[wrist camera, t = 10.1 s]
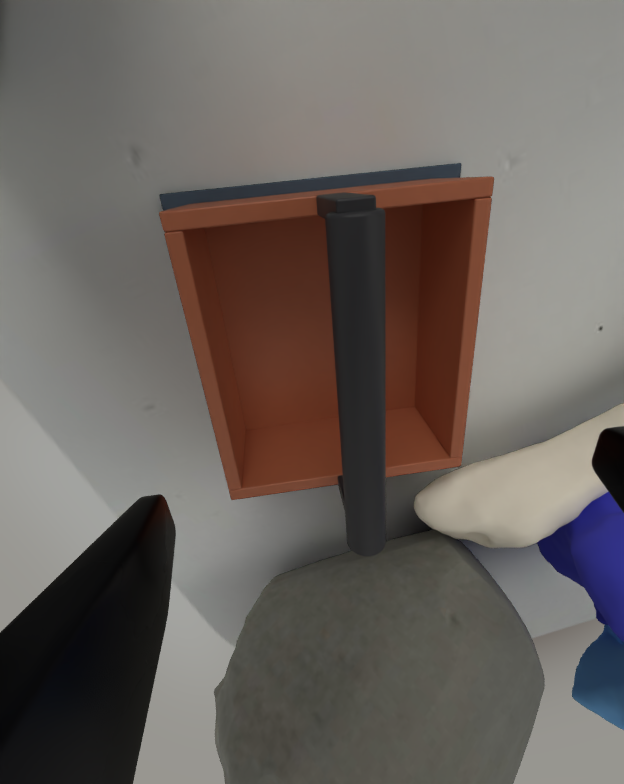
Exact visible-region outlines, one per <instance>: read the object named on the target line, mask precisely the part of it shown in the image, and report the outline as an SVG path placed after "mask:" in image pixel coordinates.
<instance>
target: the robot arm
mask: <svg viewBox="0 0 624 784" xmlns="http://www.w3.org/2000/svg"><path fill="white" fill-rule="evenodd" d="M592 467H593V470H594V472H595V473H596V475H597V476H598V478H599V479H600V480H601V482H602V483H603V485H604V486H605V487H606V489H607V490H608V492H609V493H610V494H611V496H612V497H613V499H614V500H615V502H616V503H617V504H618V506H619V507H620V509H621V510H622V511H623V513H624V426H619V427H612V428H606V429H604V430H603V431H602V432H601V433H600V435H599V438H598V441H597V444H596V447H595V451H594V454H593V457H592ZM175 537H176V531H175V524H174V521H173V519H172V516H171V513H170V510H169V507H168V505H167V502H166V499H165V498H164V496H162V495H160V494H158V495H151V496H145V497H141V498H139V499H138V500H137V501H136V502H135V503H134V504H133V505H132V506H131V507H130V508H129V509H128V510H127V511H126V512H125V513H123V514H122V515H121V516H120V517H119V518H118V519H117V520H116V521H115V522H114V523H113V524H112V525H111V526H110V527H109V528H108V529H107V530H106V531H105V532H104V533H103V534H102V535H101V536H100V537H99V538H98V539H97V540H96V541H95V542H94V543H92V544H91V545H90V546H89V547H88V548H87V549H86V550H85V551H84V552H83V553H82V554H81V555H80V556H79V557H78V558H77V559H76V560H75V561H74V562H73V563H72V564H71V565H70V566H69V567H68V568H67V569H66V570H64V572H62V573H61V574H60V575H59V576H58V577H57V578H56V579H55V580H54V581H53V582H52V583H51V584H50V585H49V586H48V587H47V588H46V589H45V590H44V591H43V592H42V593H41V594H40V595H39V596H38V597H37V598H35V600H33V601H32V602H31V603H30V604H29V605H28V606H27V607H26V608H25V609H24V610H23V611H22V612H21V613H20V614H19V615H18V616H17V617H16V618H15V619H14V620H13V621H12V622H11V623H10V624H9V625H8V626H7V627H5V629H3V630H2V631H1V633H0V784H133V780H134V775H135V771H136V765H137V761H138V756H139V751H140V747H141V742H142V737H143V732H144V727H145V723H146V718H147V713H148V708H149V703H150V698H151V693H152V688H153V684H154V679H155V674H156V670H157V665H158V660H159V655H160V651H161V646H162V640H163V636H164V631H165V626H166V621H167V615H168V608H169V599H170V589H171V579H172V568H173V558H174V548H175Z"/></svg>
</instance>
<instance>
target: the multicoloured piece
mask: <svg viewBox="0 0 624 784" xmlns="http://www.w3.org/2000/svg"><path fill="white" fill-rule="evenodd" d="M619 426H624V403H622V404H619V405H617V406H615V407H613V408H611V409H610V410H608V411H606V412H604V413H602V414H600V415H598V416H597V417H594V418H592V419H590V420H588V421H586V422H584V423H582V424H580V425H578V426H576V427H574V428H572V429H570V430H568V431H566V432H564V433H562V434H560V435H558V436H556V437H554V438H551V439H549V440H547V441H545V442H542V443H538V444H534V445H531V446H528V447H525V448H522V449H519V450H516V451H513V452H510V453H507V454H504V455H501V456H496V457H493V458H490V459H487V460H483V461H479V462H475V463H472V464H470V465H468V466H465V467H462V468H460V469H456V470H454V471H452V472H450V473H448V474H445V475H443V476H441V477H439V478H438V479H434V481H433V482H432V483H430V484H428V485H427V486H426V487H425V488H424V489H423V490H422V491H420V492H419V493H418V494H417V495H416V496H415V500H414V509H415V512H416V514H417V515H418V517H419V518H420V519H421V520H422V521H423V522H425V523H426V524H427V525H428V526H429V527H431V528H432V529H435V530H437V531H439V532H441V533H443V534H446V535H449V536H451V537H452V538H454V539H466V540H470V541H473V542H475V543H477V544H480V545H483V546H485V547H488V548H523V547H527V546H530V545H533V544H536V543H537V544H538V546H539V549H540V552H541V554H542V555H543V557H544V558H545V559H546V560H547V561H548V562H549V563H550V564H551V565H552V566H553V567H554V568H555V569H556V571H557V572H559V573H561V574H562V575H564V576H566V577H568V578H570V579H572V580H573V581H575V582H577V583H578V584H580V585H581V586H583V587H584V588H585V590H586V591H587V593H588V594H589V596H590V598H591V599H592V601H593V602H594V607H595V609H596V618H597V619H598V621H600V622H601V623H603V624H605V626H604V631H603V633H602V634H601V635H600V636H599V637H598V639H597V640H596V641H594V642H593V643H592V644H591V645H590V646H589V647H588V648H587V649H586V651H585V653H584V654H583V655H582V657H581V658H580V662H579V665H578V666H577V668H576V673H575V680H574V686H573V690H572V697H573V698H574V699H575V700H576V701H577V702H578V703H580V704H581V705H583V706H584V707H586V708H587V709H589V710H591V711H593V712H594V713H596V714H598V715H599V716H601V717H602V718H604V719H605V720H607V721H608V722H610V723H612V724H614V725H615V726H617V727H619V728H620V729H623V730H624V513H623V511H622V510H621V509H620V507H619V506H618V504H617V503H616V502H615V500H614V499H613V497H612V496H611V494H610V493H609V492H608V490H607V489H606V487H605V486H604V485H603V483H602V482H601V480H600V479H599V478H598V476H597V475H596V473H595V472H594V470H593V467H592V457H593V454H594V451H595V447H596V444H597V441H598V438H599V435H600V433H601V432H602V431H603V430H604V429H606V428H612V427H619Z"/></svg>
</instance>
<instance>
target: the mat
mask: <svg viewBox="0 0 624 784" xmlns="http://www.w3.org/2000/svg"><path fill="white" fill-rule="evenodd" d="M460 173H461V163H457V164H447V165H437V166H428V167H418V168H408V169H399V170H389V171H379V172H370V173H360V174H351V175H341V176H331V177H322V178H312V179H302V180H293V181H283V182H273V183H264V184H254V185H244V186H235V187H225V188H216V189H206V190H196V191H187V192H177V193H167V194H160V199H161V203H162V208H163V211H165V210H168V209H172V208H176V207H180V206H184V205H187V204H195V203H204V202H214V201H224V200H233V199H243V198H252V197H262V196H271V195H281V194H290V193H300V192H309V191H319V190H328V189H338V188H348V187H357V186H367V185H376V184H386V183H395V182H405V181H414V180H424V179H438V178H460Z"/></svg>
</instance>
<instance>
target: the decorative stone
mask: <svg viewBox="0 0 624 784" xmlns="http://www.w3.org/2000/svg"><path fill="white" fill-rule="evenodd" d="M543 691H544V674H543V670H542V667H541V664H540V661H539V657H538V654H537V651H536V649H535V646H534V643H533V640H532V638H531V636H530V634H529V632H528V630H527V628H526V626H525V624H524V623H523V621H522V619H521V617H520V616H519V614H518V612H517V611H516V609H515V608H514V606H513V605H512V603H511V602H510V600H509V599H508V597H507V596H506V595H505V593H504V592H503V590H502V589H501V588H500V587H499V585H498V584H497V583H496V581H495V580H494V579H493V577H492V576H491V575H490V574H489V572H488V571H487V570H486V569H485V568H484V566H483V565H482V564H481V563H480V562H479V560H478V559H477V558H476V557H475V556H474V555H473V554H472V553H471V551H470V550H469V549H468V548H467V547H466V546H465V545H464V544H463V543H462V542H461V541H460V540H458V539H454V538H452V537H451V536H449V535H446V534H443V533H441V532H439V531H437V530H431V531H426V532H421V533H417V534H413V535H408V536H404V537H400V538H396V539H392V540H388V541H386V543H385V546H384V548H383V550H382V551H381V552H380V553H378V554H376V555H374V556H369V557H366V556H360V555H358V554H356V553H354V552H353V551H350V552H346V553H343V554H340V555H337V556H334V557H331V558H327V559H324V560H321V561H318V562H315V563H312V564H309V565H306V566H304V567H301V568H298V569H295V570H292V571H289V572H286V573H283V574H280V575H278V576H275V577H274V578H273V579H272V580H271V581H270V583H269V584H268V585H267V586H266V587H265V588H264V590H263V591H262V593H261V595H260V597H259V598H258V600H257V601H256V603H255V604H254V606H253V608H252V610H251V611H250V613H249V614H248V616H247V617H246V620H245V624H244V627H243V629H242V631H241V633H240V635H239V638H238V640H237V644H236V648H235V650H234V653H233V655H232V657H231V659H230V662H229V665H228V668H227V671H226V675H225V677H224V679H223V680H222V681H221V682H220V683H219V685H218V686H217V687H216V688H215V691H214V695H215V702H216V726H215V743H216V748H217V751H218V755H219V758H220V762H221V764H222V766H223V770H224V777H225V784H513V783H514V780H515V777H516V775H517V772H518V769H519V767H520V763H521V761H522V758H523V755H524V752H525V749H526V747H527V744H528V740H529V738H530V735H531V732H532V729H533V725H534V722H535V719H536V715H537V712H538V708H539V704H540V701H541V697H542V694H543Z"/></svg>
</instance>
